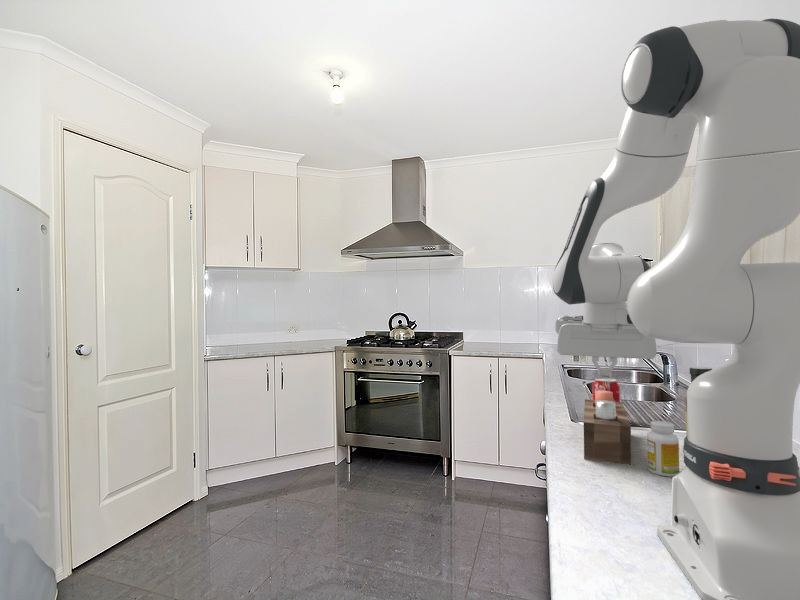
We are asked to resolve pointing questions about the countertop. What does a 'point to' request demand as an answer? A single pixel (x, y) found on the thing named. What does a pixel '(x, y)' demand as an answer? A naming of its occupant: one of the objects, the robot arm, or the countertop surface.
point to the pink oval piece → (603, 395)
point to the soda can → (607, 387)
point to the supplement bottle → (663, 449)
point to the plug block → (607, 436)
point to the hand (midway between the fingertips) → (604, 376)
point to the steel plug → (605, 410)
